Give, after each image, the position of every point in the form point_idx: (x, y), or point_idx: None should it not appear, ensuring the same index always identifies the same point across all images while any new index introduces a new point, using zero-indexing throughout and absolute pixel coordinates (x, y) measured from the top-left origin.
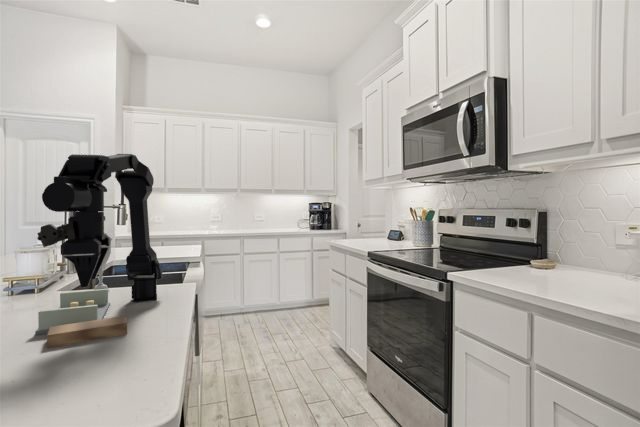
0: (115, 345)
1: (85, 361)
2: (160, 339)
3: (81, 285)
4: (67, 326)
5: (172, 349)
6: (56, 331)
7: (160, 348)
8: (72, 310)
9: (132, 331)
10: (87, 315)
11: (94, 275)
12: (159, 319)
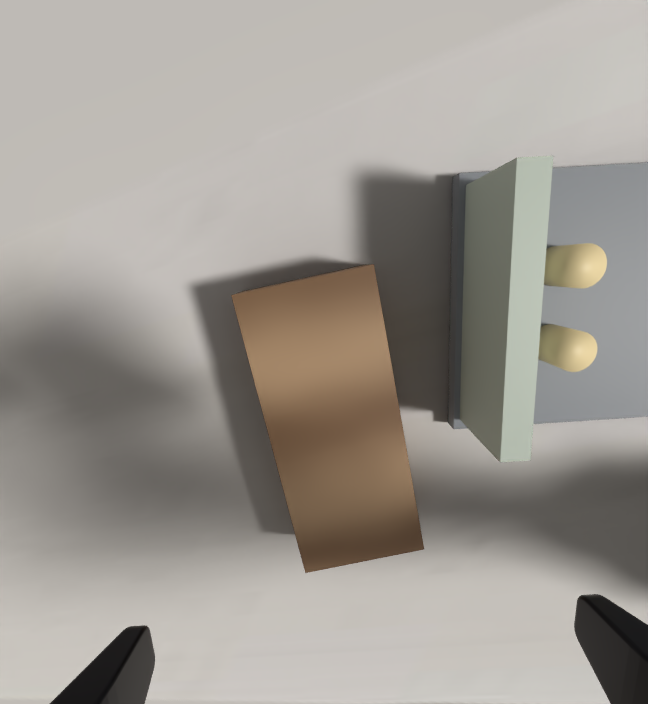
0: (190, 518)
1: (62, 458)
2: (202, 639)
3: (117, 642)
4: (347, 345)
5: None
6: (279, 319)
7: None
8: (500, 341)
9: None
10: (478, 400)
11: (597, 664)
12: (445, 620)
